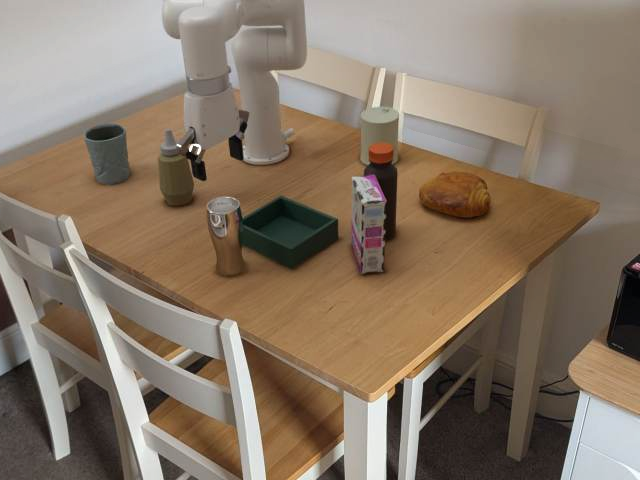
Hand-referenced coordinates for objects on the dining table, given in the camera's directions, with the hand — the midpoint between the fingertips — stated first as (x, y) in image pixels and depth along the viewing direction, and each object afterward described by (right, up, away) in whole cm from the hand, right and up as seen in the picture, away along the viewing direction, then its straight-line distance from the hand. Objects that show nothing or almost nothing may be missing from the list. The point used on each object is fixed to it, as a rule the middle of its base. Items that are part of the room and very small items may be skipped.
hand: (218, 168), depth 151 cm
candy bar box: (+30, -16, +12) cm, 36 cm away
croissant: (+52, -3, +26) cm, 58 cm away
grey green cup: (-29, +8, +50) cm, 58 cm away
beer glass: (+2, -18, +14) cm, 23 cm away
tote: (+14, -11, +20) cm, 27 cm away
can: (+37, +11, +46) cm, 60 cm away
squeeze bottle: (-11, 0, +38) cm, 39 cm away
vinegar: (+33, -10, +19) cm, 40 cm away
